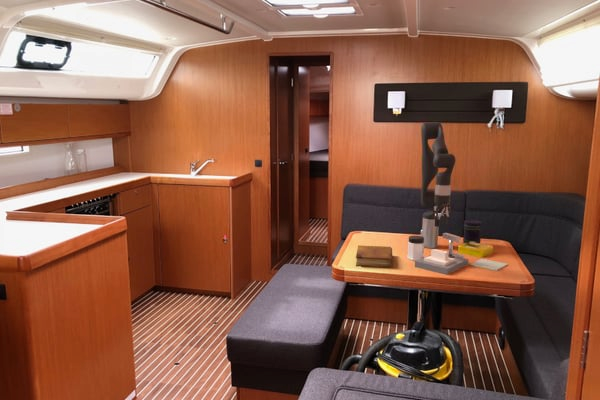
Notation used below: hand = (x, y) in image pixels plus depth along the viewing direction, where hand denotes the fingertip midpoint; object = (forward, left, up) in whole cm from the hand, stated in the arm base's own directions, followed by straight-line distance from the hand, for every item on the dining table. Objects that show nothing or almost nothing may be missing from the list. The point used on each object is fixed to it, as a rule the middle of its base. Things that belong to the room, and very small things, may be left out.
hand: (441, 225), depth 244 cm
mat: (+17, +21, -22) cm, 35 cm away
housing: (0, +3, -22) cm, 22 cm away
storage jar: (-7, +52, -22) cm, 57 cm away
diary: (-30, -14, -23) cm, 40 cm away
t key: (+2, +11, -18) cm, 22 cm away
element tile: (+1, +39, -23) cm, 45 cm away
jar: (-17, +5, -22) cm, 28 cm away
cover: (0, 0, -19) cm, 19 cm away
